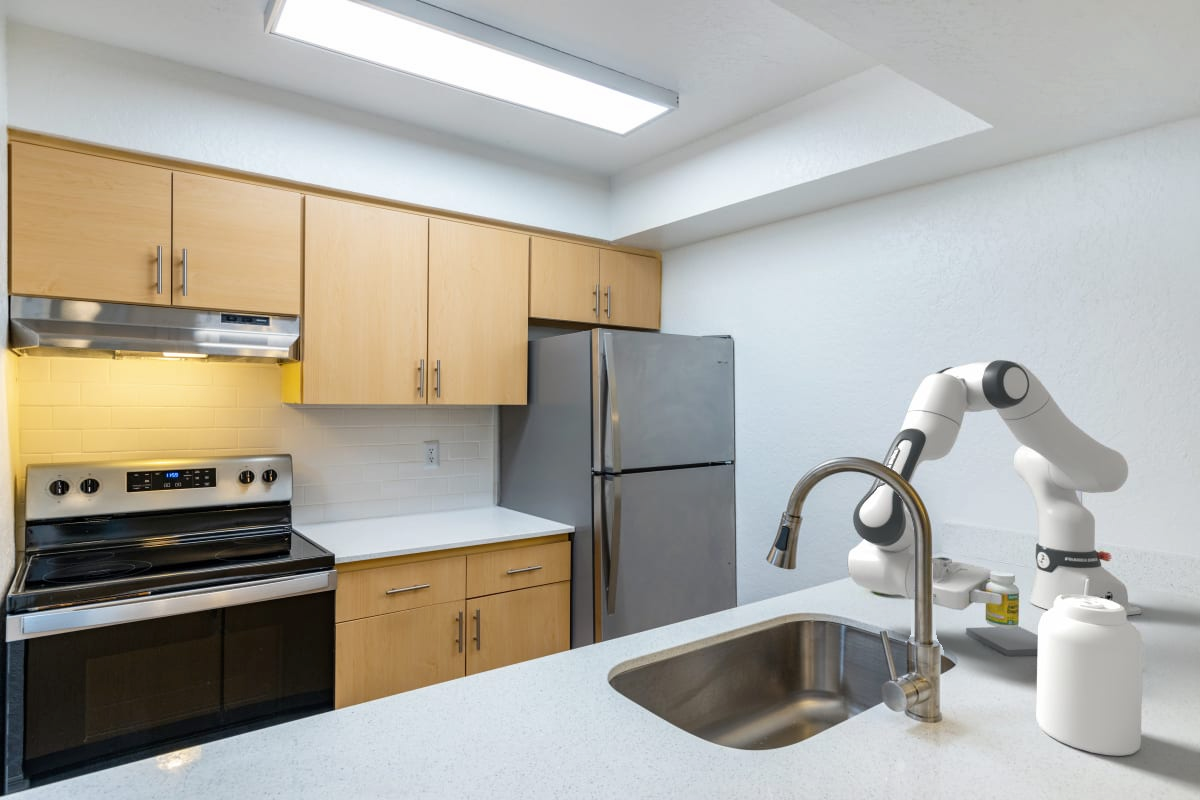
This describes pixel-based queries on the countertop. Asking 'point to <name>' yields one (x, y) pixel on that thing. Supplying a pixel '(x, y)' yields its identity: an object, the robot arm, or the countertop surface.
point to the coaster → (1007, 640)
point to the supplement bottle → (1009, 608)
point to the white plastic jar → (1090, 675)
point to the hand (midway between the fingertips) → (1007, 595)
